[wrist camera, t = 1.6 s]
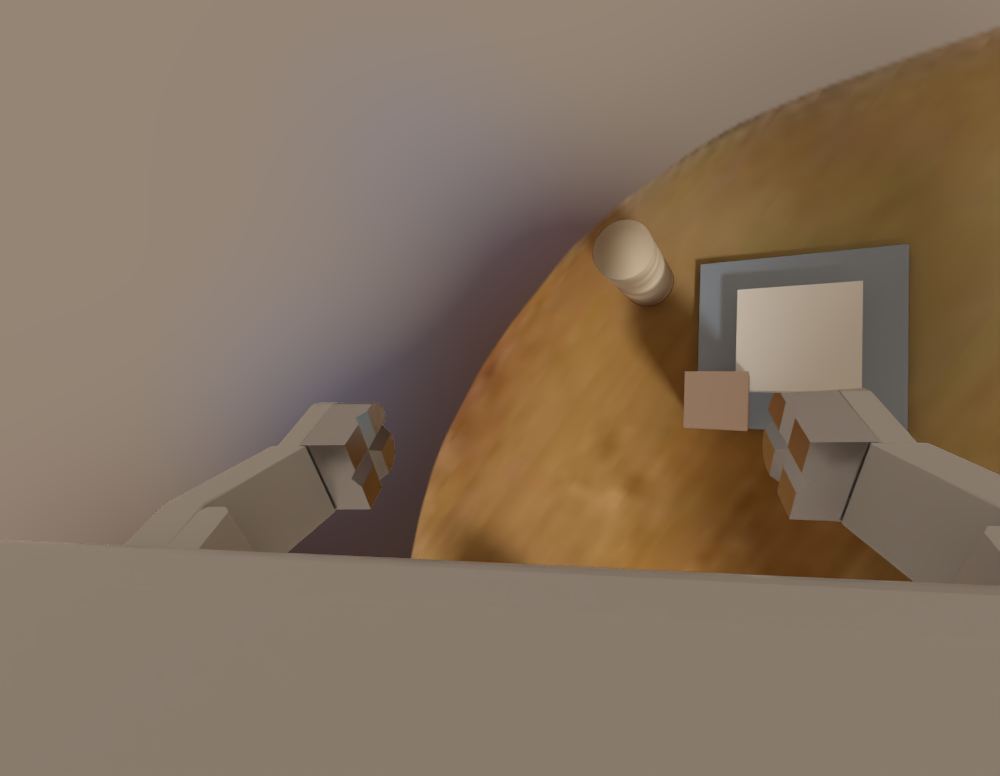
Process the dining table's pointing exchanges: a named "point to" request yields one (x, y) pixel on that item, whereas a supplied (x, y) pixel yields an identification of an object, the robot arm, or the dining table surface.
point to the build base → (818, 271)
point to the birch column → (633, 262)
